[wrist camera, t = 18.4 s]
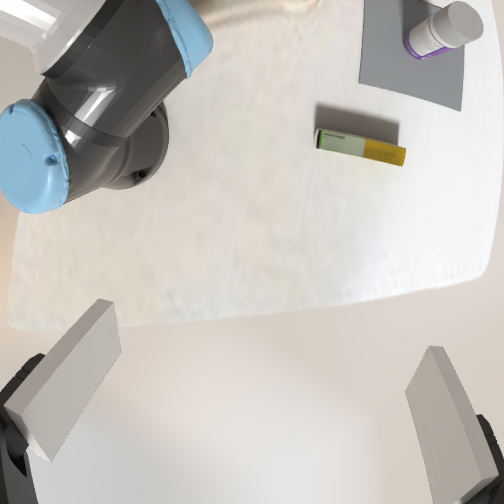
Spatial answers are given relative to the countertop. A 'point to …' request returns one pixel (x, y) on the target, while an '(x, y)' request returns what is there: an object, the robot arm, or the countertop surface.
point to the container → (443, 31)
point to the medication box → (359, 146)
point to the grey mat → (399, 62)
